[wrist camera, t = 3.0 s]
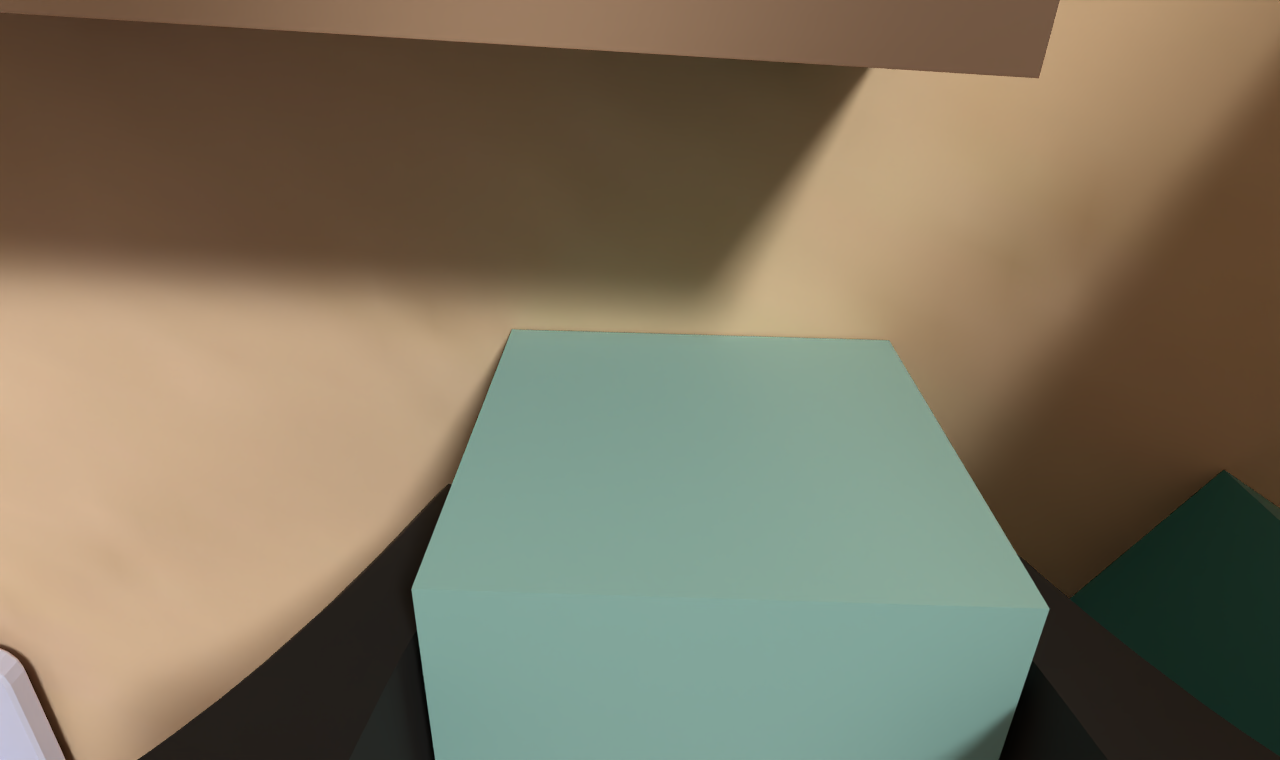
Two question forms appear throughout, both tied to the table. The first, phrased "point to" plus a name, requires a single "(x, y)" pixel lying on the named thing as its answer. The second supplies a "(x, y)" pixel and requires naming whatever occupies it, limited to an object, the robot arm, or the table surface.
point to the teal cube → (717, 562)
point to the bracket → (1205, 603)
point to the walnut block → (651, 26)
